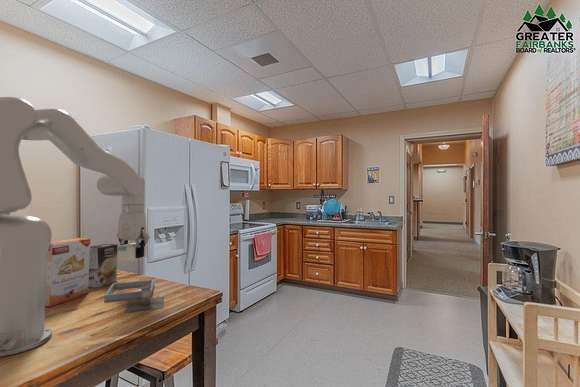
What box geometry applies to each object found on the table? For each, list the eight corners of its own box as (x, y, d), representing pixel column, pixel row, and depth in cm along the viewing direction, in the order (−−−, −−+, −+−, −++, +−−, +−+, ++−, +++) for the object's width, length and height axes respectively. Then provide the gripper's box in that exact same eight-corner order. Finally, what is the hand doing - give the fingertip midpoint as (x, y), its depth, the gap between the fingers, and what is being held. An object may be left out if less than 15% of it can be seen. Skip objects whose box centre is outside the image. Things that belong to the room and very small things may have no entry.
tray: (151, 298, 100) (151, 290, 100) (104, 304, 94) (104, 295, 94) (153, 286, 113) (153, 279, 113) (112, 291, 108) (112, 283, 108)
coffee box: (98, 288, 111) (99, 247, 111) (85, 286, 112) (86, 247, 113) (117, 281, 120) (118, 244, 120) (104, 280, 121) (105, 243, 122)
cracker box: (50, 307, 91) (52, 243, 91) (36, 306, 92) (37, 243, 92) (89, 293, 105) (91, 238, 105) (76, 292, 106) (77, 237, 106)
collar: (126, 262, 98) (126, 248, 98) (112, 260, 101) (112, 246, 101) (147, 257, 106) (147, 244, 106) (134, 255, 109) (134, 242, 109)
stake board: (163, 311, 89) (163, 289, 89) (123, 316, 85) (124, 293, 85) (164, 299, 99) (164, 279, 100) (129, 303, 95) (129, 283, 95)
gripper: (107, 209, 104) (106, 256, 104) (141, 210, 98) (140, 261, 97) (126, 208, 111) (125, 252, 111) (158, 209, 104) (157, 256, 104)
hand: (132, 256), depth 104 cm, fingers closed on collar, 7 cm apart
